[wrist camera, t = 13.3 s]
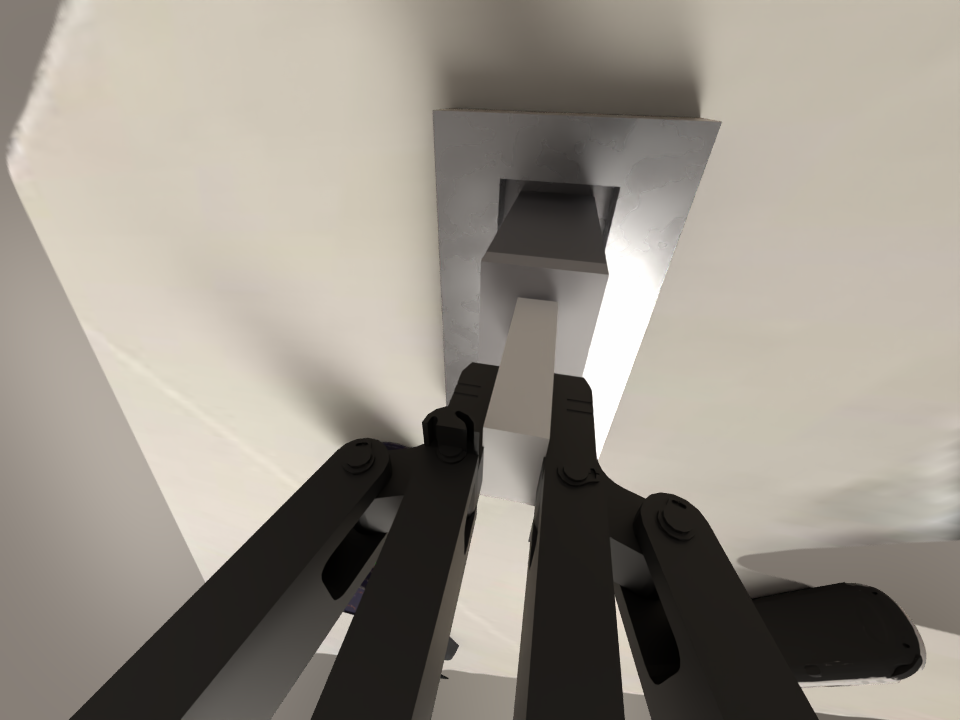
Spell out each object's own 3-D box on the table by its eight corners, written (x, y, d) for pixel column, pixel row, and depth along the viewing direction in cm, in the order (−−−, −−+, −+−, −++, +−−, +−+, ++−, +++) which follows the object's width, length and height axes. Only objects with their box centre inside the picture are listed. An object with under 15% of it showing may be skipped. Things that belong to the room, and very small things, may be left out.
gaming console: (708, 602, 50) (721, 612, 50) (726, 683, 42) (740, 693, 43) (874, 569, 38) (889, 581, 39) (937, 671, 31) (954, 685, 31)
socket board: (700, 117, 19) (722, 121, 16) (594, 436, 35) (595, 465, 32) (450, 108, 21) (432, 110, 18) (457, 412, 37) (448, 437, 34)
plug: (594, 195, 21) (609, 274, 12) (578, 273, 24) (580, 384, 15) (520, 190, 22) (480, 261, 13) (514, 266, 25) (477, 368, 16)
